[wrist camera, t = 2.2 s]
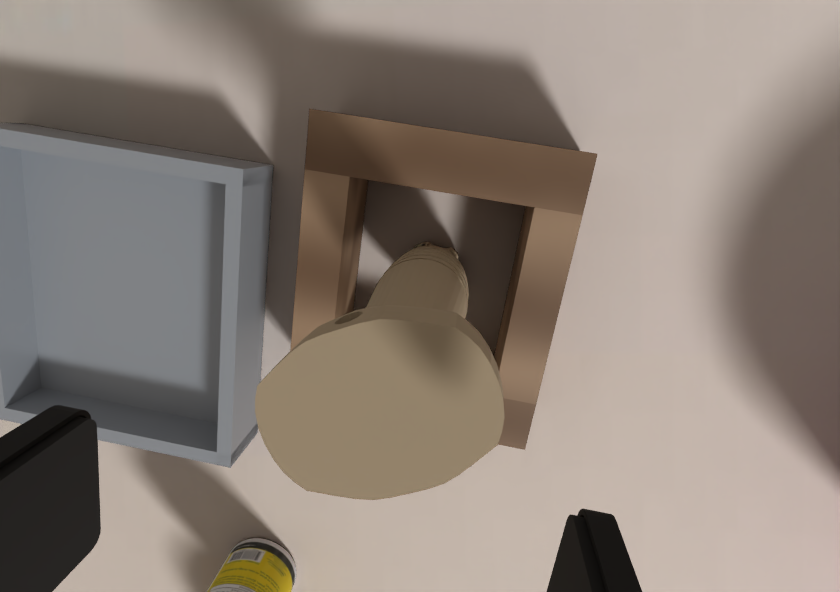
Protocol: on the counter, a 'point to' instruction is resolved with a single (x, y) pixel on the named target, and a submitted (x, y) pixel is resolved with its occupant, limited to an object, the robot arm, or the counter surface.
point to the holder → (457, 174)
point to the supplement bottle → (256, 568)
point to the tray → (133, 289)
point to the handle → (387, 389)
